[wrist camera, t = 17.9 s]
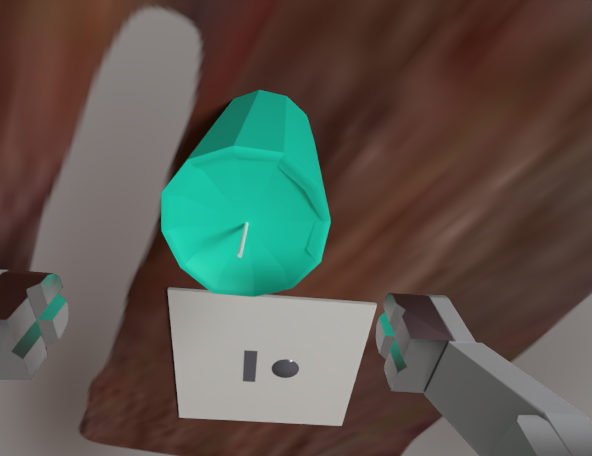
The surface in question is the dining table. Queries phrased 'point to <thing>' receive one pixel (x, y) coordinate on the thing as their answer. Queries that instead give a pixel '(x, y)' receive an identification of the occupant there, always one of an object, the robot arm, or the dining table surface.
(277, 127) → the candle
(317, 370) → the tile
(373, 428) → the dining table surface
